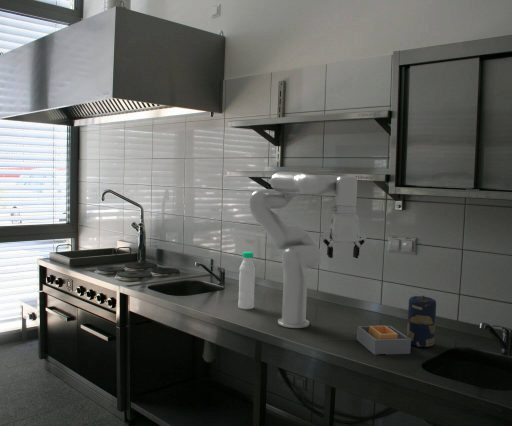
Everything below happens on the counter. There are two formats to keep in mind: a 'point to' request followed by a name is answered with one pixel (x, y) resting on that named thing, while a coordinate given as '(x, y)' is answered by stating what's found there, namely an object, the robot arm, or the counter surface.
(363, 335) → the big crate
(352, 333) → the counter surface
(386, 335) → the small crate
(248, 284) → the water bottle
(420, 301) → the canister
